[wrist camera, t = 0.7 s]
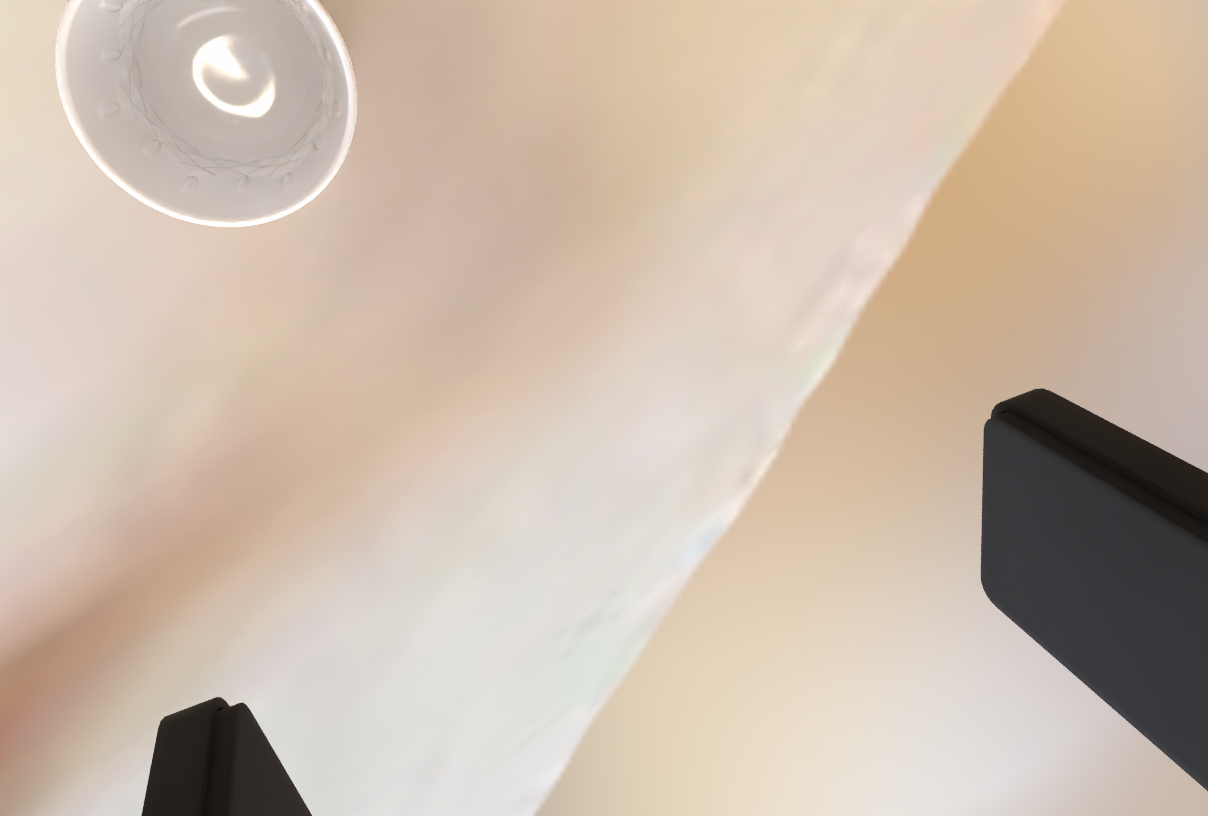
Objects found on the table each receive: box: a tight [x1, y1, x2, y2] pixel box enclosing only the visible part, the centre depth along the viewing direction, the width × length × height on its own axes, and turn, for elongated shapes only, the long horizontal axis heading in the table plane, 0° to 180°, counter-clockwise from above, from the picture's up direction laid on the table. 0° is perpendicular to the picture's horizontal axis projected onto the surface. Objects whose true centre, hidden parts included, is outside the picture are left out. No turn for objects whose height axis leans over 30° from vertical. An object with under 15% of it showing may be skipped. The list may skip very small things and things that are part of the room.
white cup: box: [55, 0, 357, 227], centre depth 29 cm, size 8×8×10 cm
